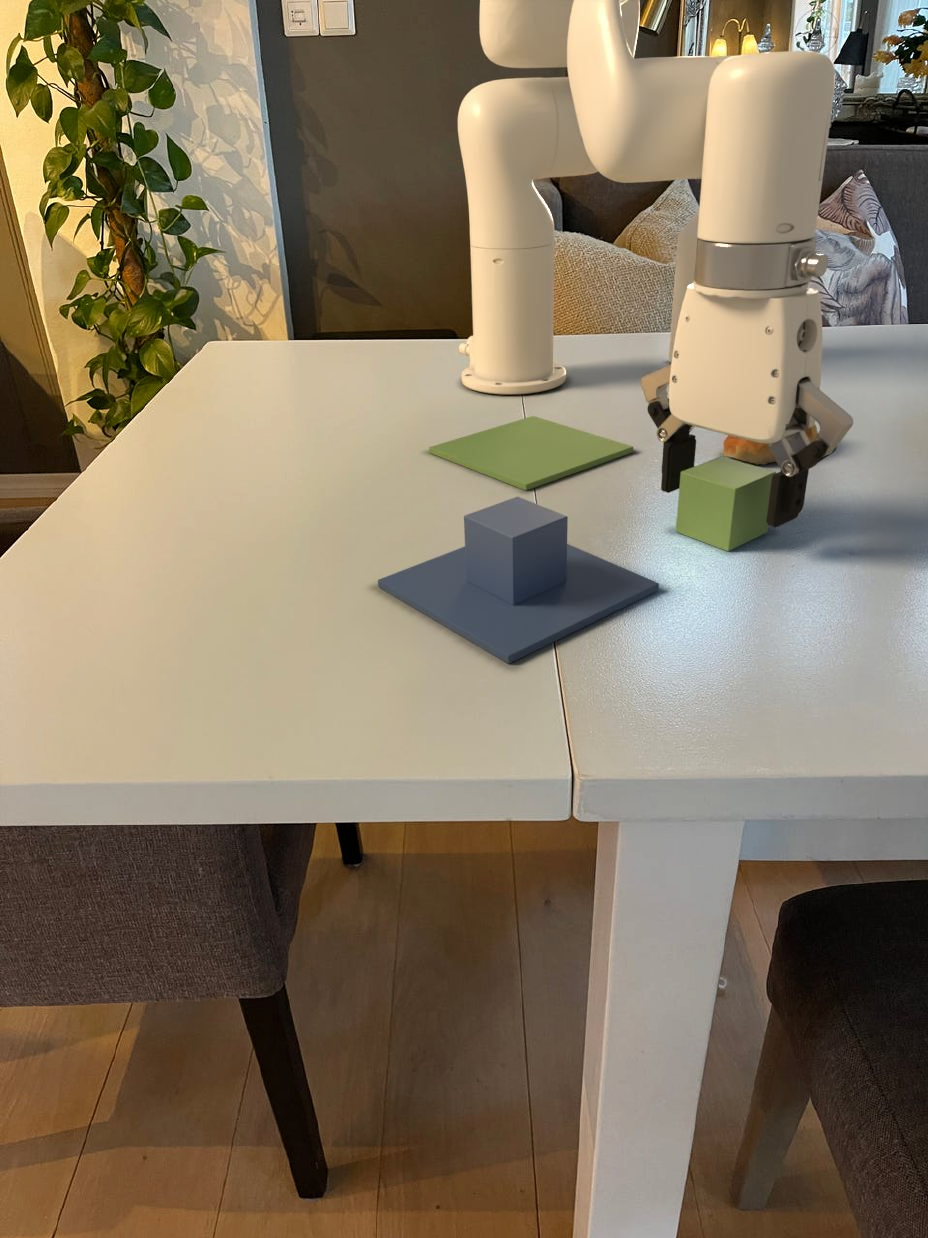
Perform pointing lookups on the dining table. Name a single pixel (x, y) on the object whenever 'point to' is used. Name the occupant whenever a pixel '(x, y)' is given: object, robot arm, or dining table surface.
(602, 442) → the green mat
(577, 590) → the blue mat
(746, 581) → the dining table surface
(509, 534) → the blue block
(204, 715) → the dining table surface
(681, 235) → the milk carton
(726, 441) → the pastry
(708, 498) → the green block
